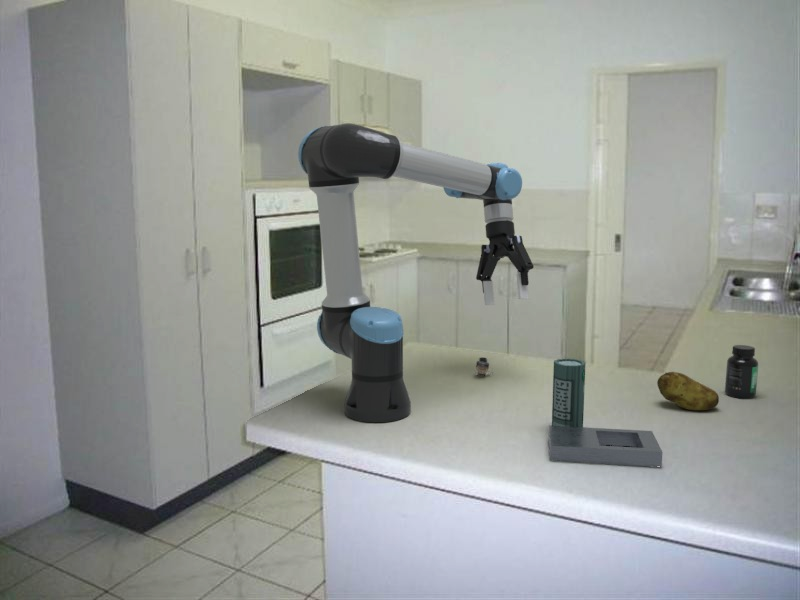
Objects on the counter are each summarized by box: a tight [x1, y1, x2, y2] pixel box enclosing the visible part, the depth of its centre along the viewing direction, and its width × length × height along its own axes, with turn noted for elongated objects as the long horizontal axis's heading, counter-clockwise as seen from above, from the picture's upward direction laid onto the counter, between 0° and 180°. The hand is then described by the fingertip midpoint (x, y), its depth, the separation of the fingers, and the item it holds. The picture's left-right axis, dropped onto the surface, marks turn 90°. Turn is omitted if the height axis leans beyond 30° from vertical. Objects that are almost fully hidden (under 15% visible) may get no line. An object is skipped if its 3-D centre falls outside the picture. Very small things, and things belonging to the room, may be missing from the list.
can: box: [551, 357, 586, 427], centre depth 146 cm, size 6×6×15 cm
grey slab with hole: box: [548, 425, 664, 468], centre depth 135 cm, size 20×11×3 cm, turn 80°
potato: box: [656, 371, 720, 411], centre depth 161 cm, size 8×13×8 cm, turn 51°
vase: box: [473, 357, 494, 377], centre depth 187 cm, size 5×5×6 cm
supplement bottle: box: [724, 344, 759, 400], centre depth 170 cm, size 7×7×12 cm
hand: (506, 302), depth 183 cm, fingers open, 13 cm apart
